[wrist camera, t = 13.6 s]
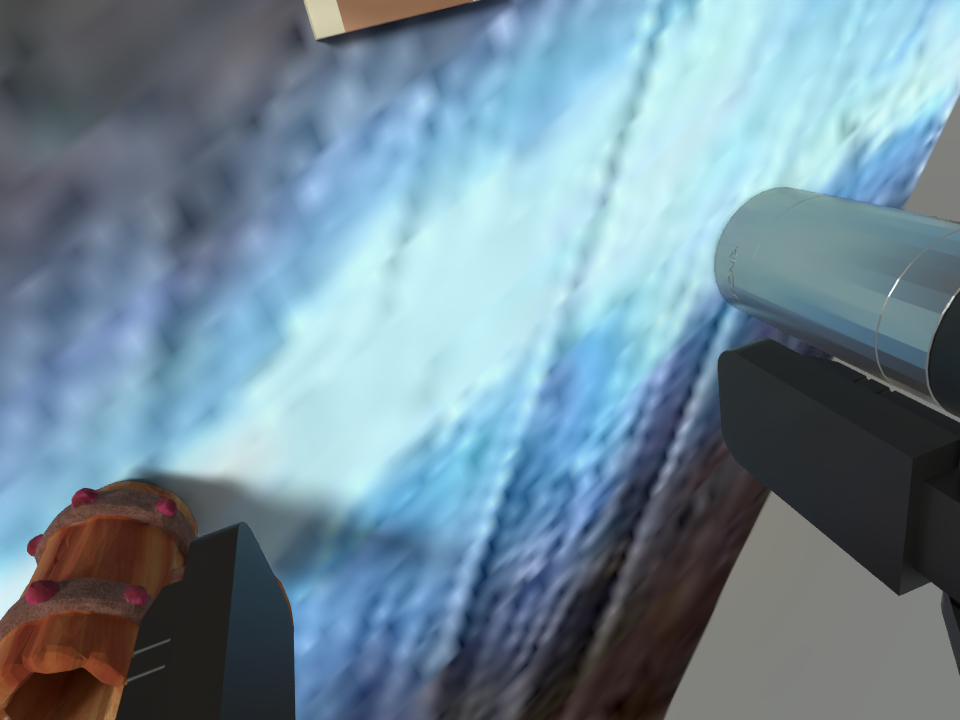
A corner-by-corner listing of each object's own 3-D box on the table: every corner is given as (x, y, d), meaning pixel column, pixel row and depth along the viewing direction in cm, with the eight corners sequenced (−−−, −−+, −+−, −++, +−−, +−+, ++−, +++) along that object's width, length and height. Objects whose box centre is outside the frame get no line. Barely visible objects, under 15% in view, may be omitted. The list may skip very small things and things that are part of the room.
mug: (41, 566, 41) (-77, 801, 27) (49, 456, 38) (-76, 654, 25) (279, 575, 46) (277, 776, 32) (300, 478, 43) (308, 653, 30)
